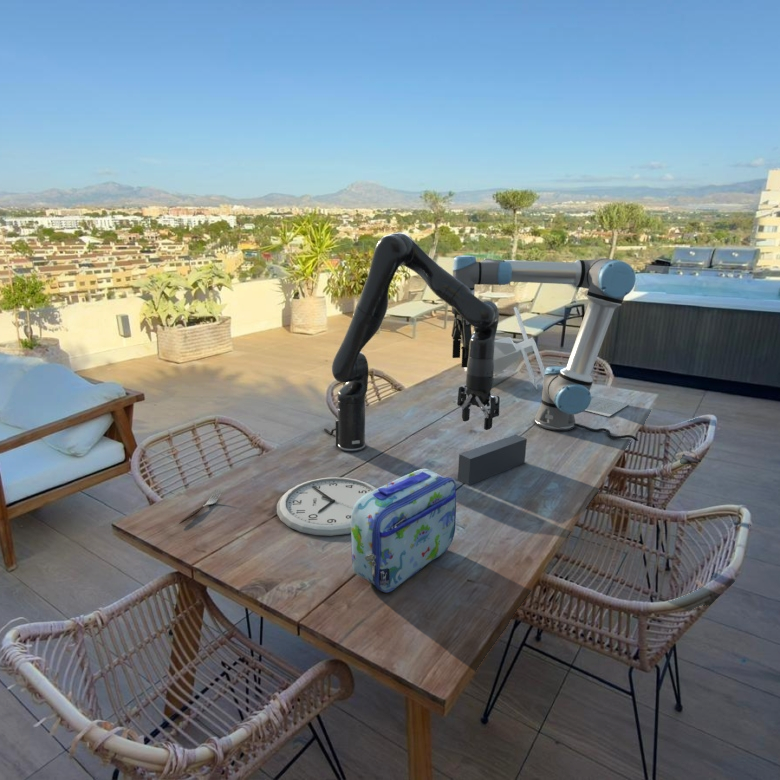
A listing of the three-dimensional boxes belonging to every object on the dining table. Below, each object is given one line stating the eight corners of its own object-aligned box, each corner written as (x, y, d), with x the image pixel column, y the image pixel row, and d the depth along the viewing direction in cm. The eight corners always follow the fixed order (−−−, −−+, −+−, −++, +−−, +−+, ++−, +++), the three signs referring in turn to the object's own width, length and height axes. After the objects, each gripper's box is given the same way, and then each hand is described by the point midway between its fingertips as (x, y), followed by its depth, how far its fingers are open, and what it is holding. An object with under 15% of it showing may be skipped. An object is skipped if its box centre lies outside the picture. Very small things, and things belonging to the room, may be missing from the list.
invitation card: (608, 416, 214) (573, 407, 224) (608, 416, 214) (573, 408, 224) (628, 404, 229) (594, 396, 238) (628, 405, 229) (594, 397, 238)
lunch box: (379, 605, 105) (380, 513, 99) (344, 580, 112) (343, 493, 106) (459, 552, 123) (464, 471, 116) (425, 533, 130) (428, 456, 124)
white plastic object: (484, 418, 267) (463, 395, 242) (465, 346, 289) (445, 318, 264) (554, 394, 255) (540, 367, 230) (529, 321, 277) (514, 289, 252)
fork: (175, 524, 132) (174, 517, 132) (215, 495, 146) (215, 489, 146) (183, 526, 131) (182, 519, 131) (223, 497, 146) (222, 490, 145)
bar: (513, 458, 174) (515, 434, 172) (524, 462, 171) (526, 438, 168) (457, 479, 159) (459, 453, 156) (468, 485, 155) (470, 459, 153)
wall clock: (392, 527, 129) (268, 531, 127) (391, 533, 130) (269, 537, 127) (383, 473, 158) (282, 475, 155) (383, 478, 158) (282, 480, 156)
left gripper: (453, 368, 152) (450, 420, 157) (490, 379, 142) (486, 435, 147) (470, 365, 157) (467, 415, 162) (508, 375, 146) (503, 429, 151)
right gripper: (444, 297, 191) (442, 354, 197) (461, 307, 167) (458, 371, 173) (464, 297, 192) (462, 353, 198) (483, 307, 168) (480, 371, 174)
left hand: (476, 424), depth 154 cm, fingers open, 8 cm apart
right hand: (460, 362), depth 186 cm, fingers open, 13 cm apart
